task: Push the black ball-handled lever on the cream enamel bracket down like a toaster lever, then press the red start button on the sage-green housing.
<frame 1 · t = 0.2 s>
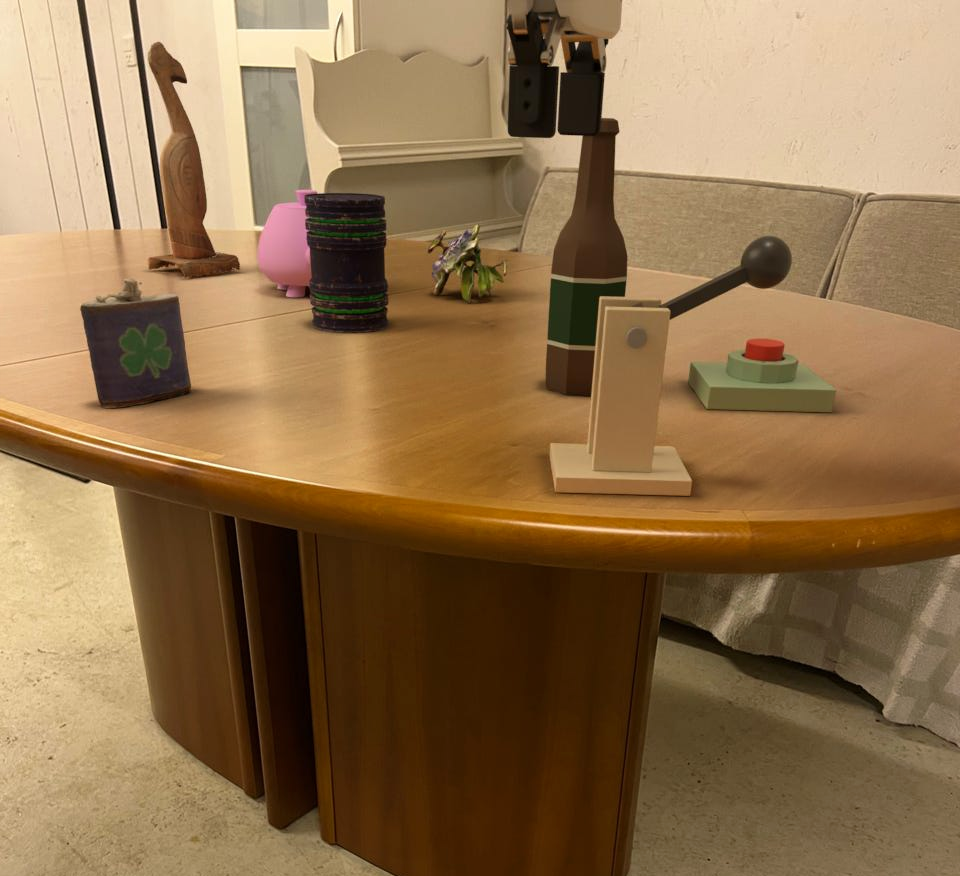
hand: (556, 136, 65), 23 cm above the table, tool pointing down, fingers open, 9 cm apart
passion flower: (465, 297, 139), on the table
storage jar: (350, 326, 119), on the table
button: (764, 351, 91), point 4 cm above the table, slide at 0.1 cm
bird sculpture: (194, 273, 153), on the table
button box: (756, 397, 93), on the table
lever: (699, 295, 65), point 13 cm above the table, hinge at 28.0°
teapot: (314, 293, 139), on the table
beer bottle: (579, 388, 95), on the table
flask: (147, 400, 87), on the table
bracket: (616, 475, 72), on the table
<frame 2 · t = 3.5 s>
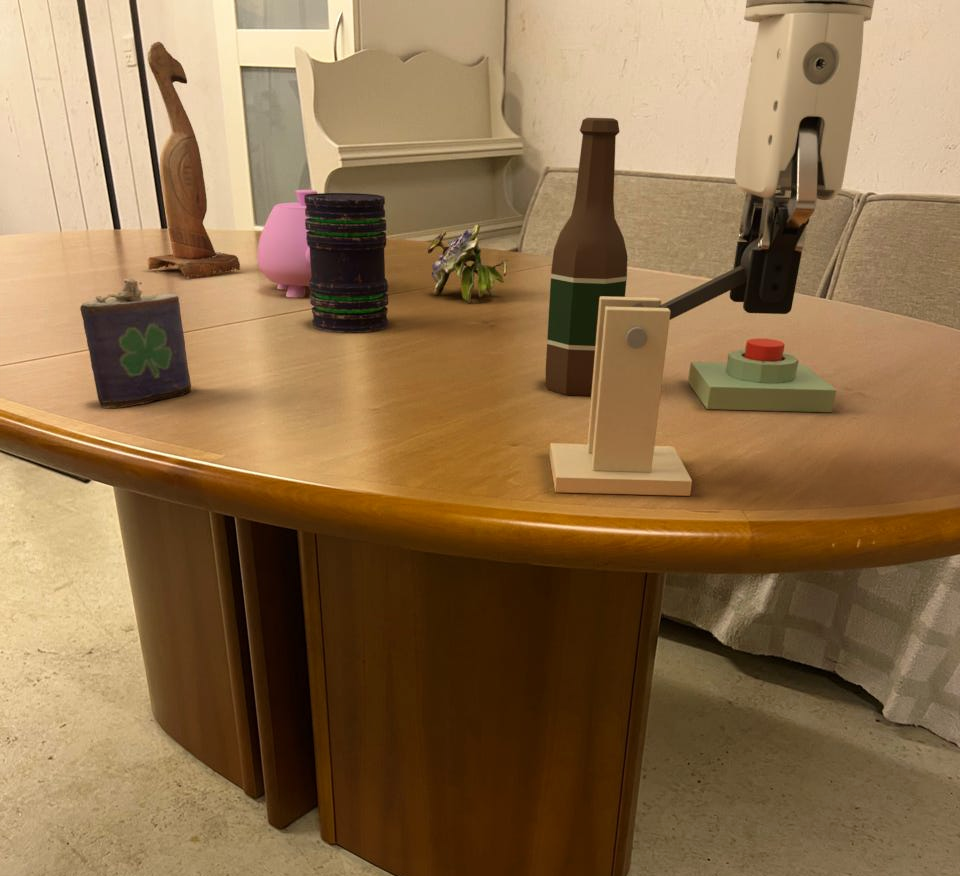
hand: (759, 304, 65), 13 cm above the table, tool pointing down, fingers closed on lever, 3 cm apart
lever: (699, 295, 65), point 13 cm above the table, hinge at 28.0°, touching gripper
everything else where it was.
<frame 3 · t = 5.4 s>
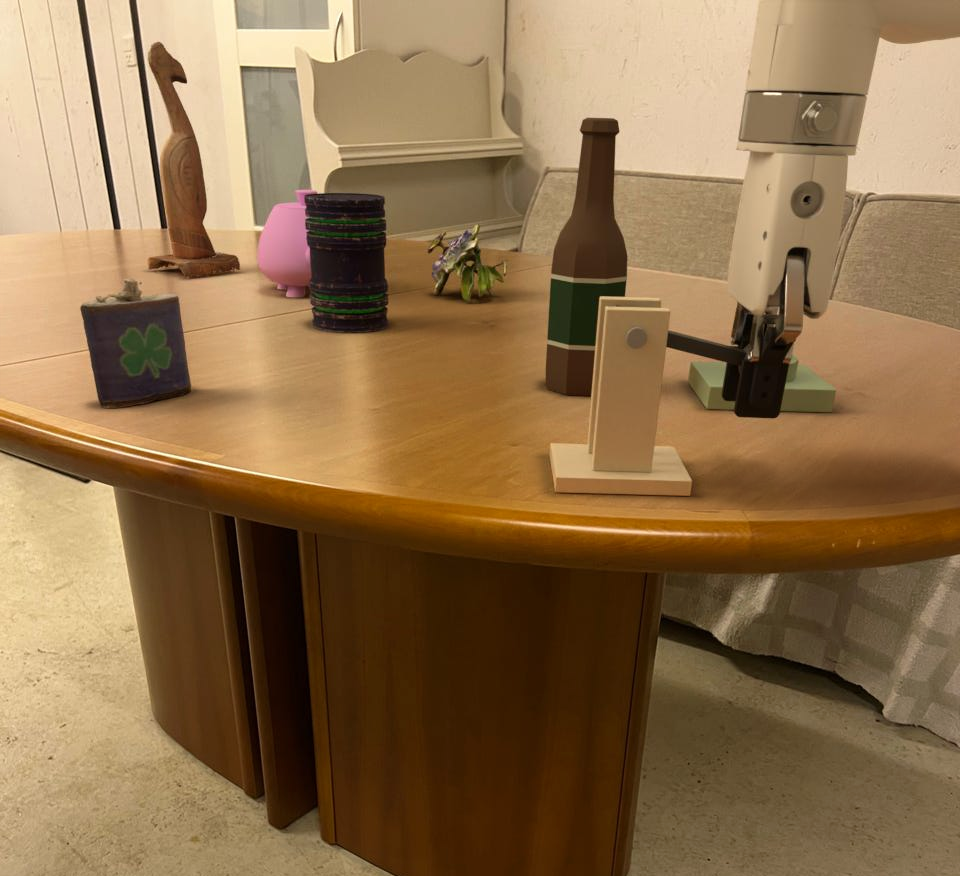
hand: (749, 406, 69), 6 cm above the table, tool pointing down, fingers closed on lever, 3 cm apart
lever: (699, 346, 67), point 10 cm above the table, hinge at -12.3°, touching gripper
everything else where it was.
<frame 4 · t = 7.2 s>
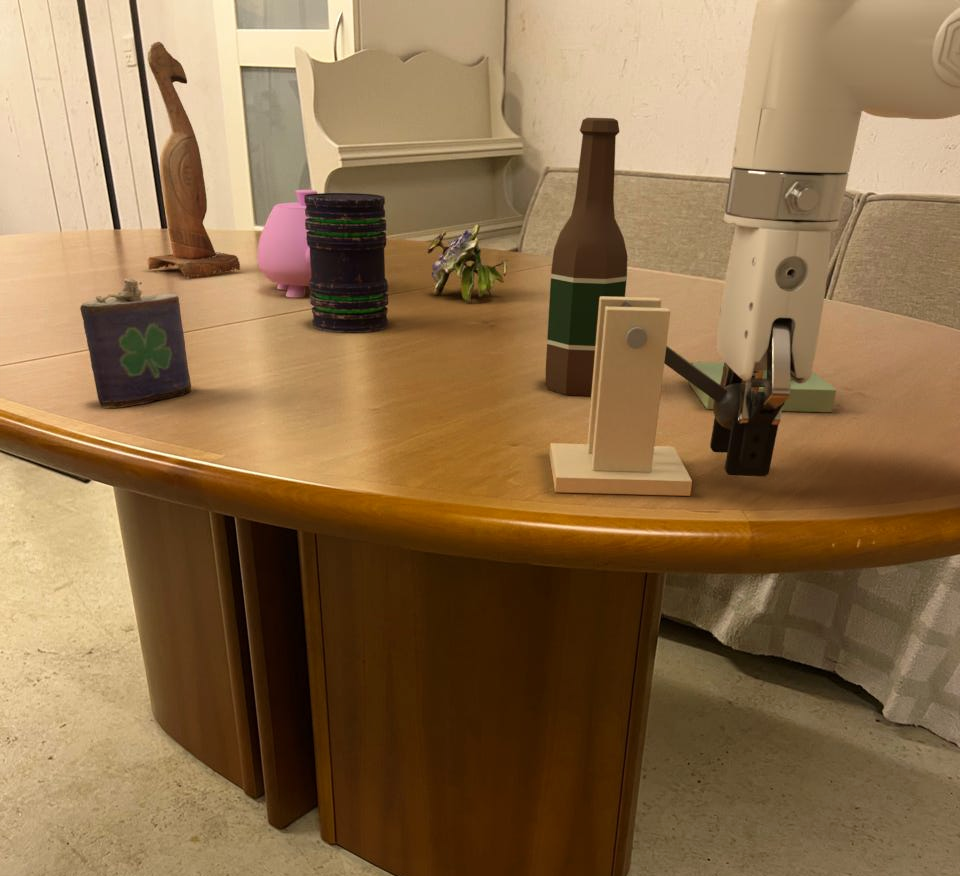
hand: (738, 460, 71), 2 cm above the table, tool pointing down, fingers open, 4 cm apart
lever: (686, 370, 68), point 8 cm above the table, hinge at -32.5°
everything else where it was.
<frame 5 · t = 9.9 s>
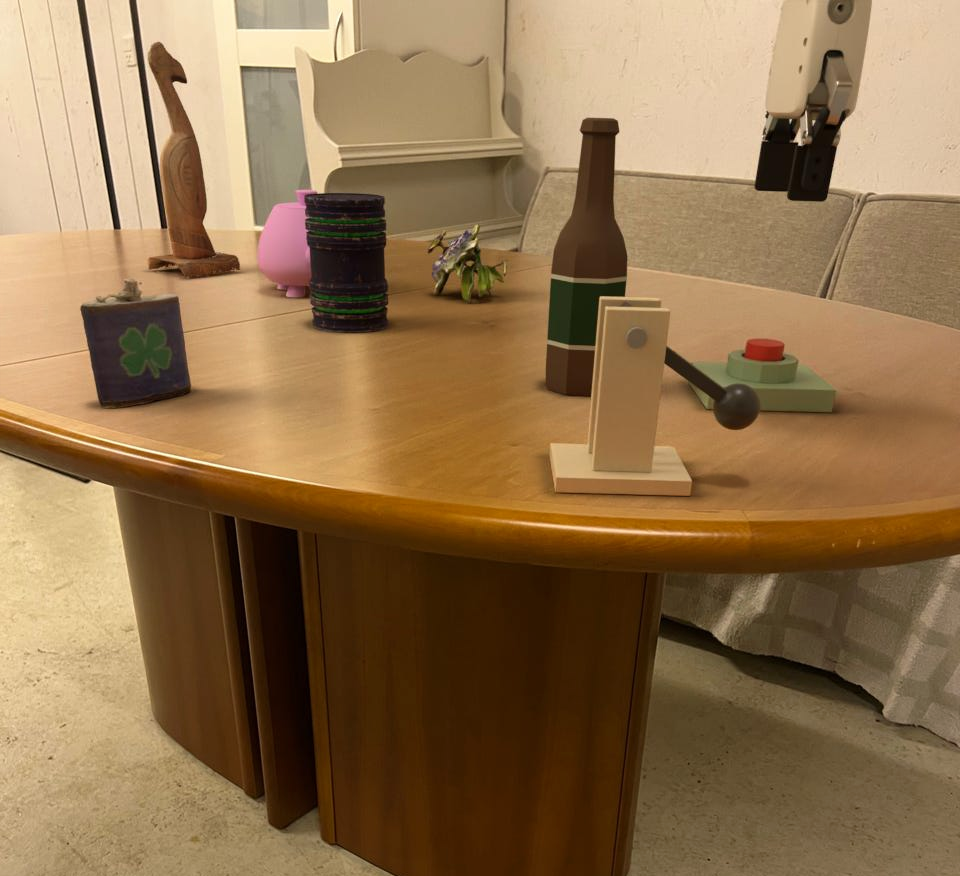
hand: (788, 195, 81), 19 cm above the table, tool pointing down, fingers open, 9 cm apart
nothing on the table moved.
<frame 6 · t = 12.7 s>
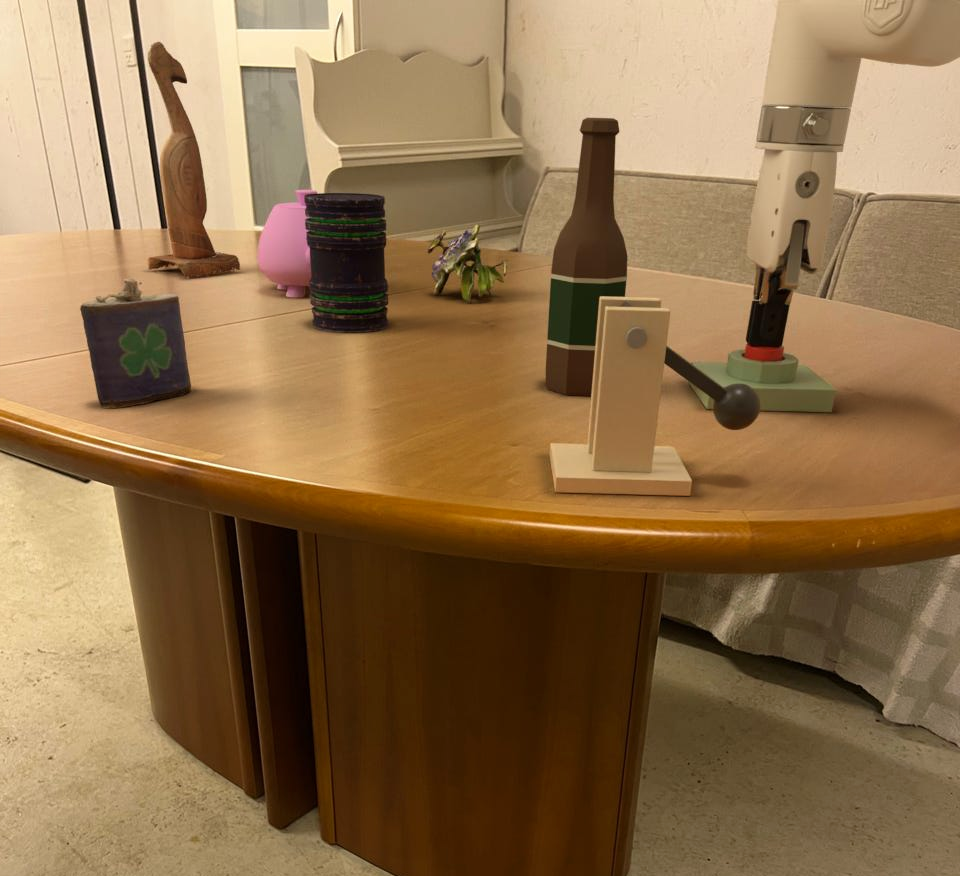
hand: (763, 344, 90), 5 cm above the table, tool pointing down, fingers closed
button: (763, 354, 91), point 4 cm above the table, slide at -0.2 cm, touching gripper
everything else where it was.
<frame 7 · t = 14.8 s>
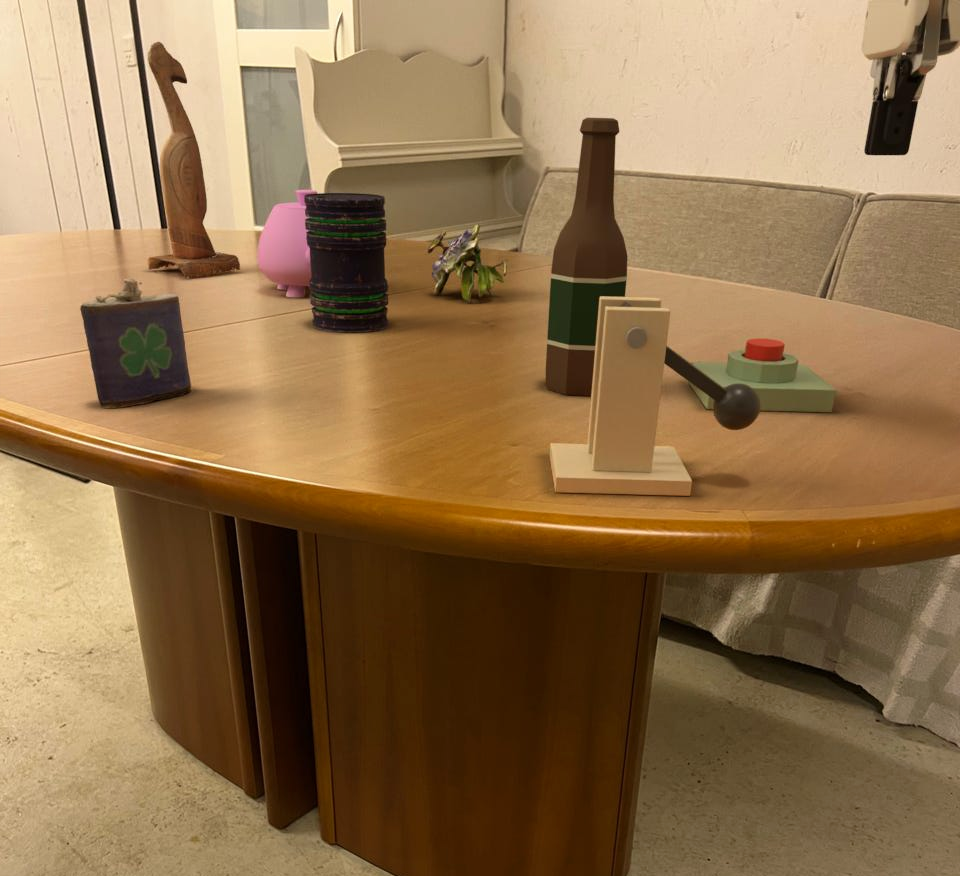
hand: (885, 154, 79), 22 cm above the table, tool pointing down, fingers closed
button: (764, 351, 91), point 4 cm above the table, slide at 0.1 cm
everything else where it was.
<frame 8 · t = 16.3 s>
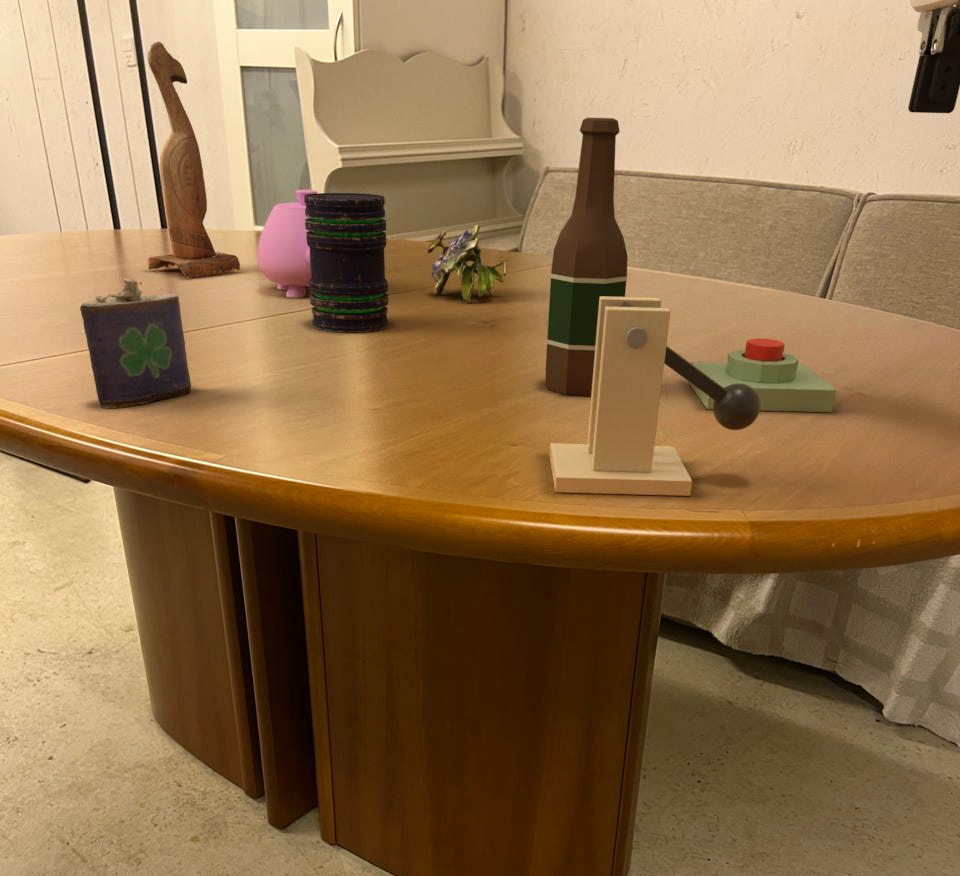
hand: (930, 112, 77), 25 cm above the table, tool pointing down, fingers closed
nothing on the table moved.
at the end: lever at -32° (first picture: +28°); button pushed in 1.1 cm at the most during the clip, back to where it started at the end; button slide at 0.1 cm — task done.
